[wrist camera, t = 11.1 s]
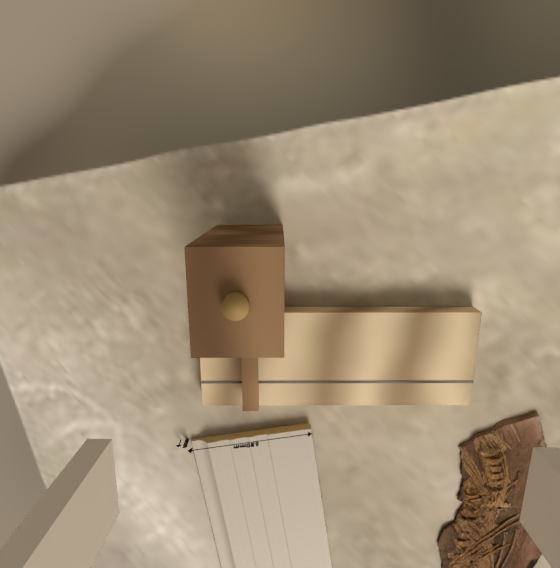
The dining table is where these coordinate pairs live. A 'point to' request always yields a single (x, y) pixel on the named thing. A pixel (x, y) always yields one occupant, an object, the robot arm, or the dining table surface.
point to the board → (360, 359)
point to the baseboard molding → (264, 497)
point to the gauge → (237, 298)
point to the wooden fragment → (494, 499)
